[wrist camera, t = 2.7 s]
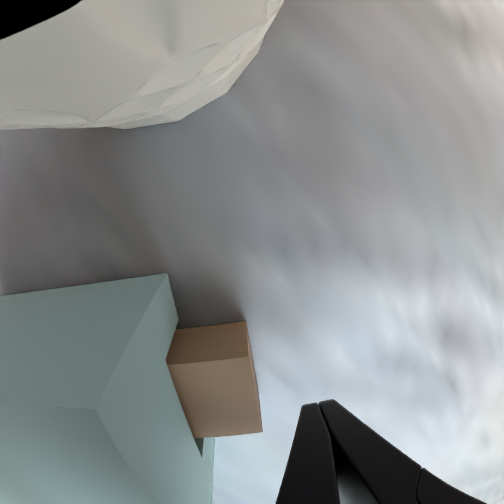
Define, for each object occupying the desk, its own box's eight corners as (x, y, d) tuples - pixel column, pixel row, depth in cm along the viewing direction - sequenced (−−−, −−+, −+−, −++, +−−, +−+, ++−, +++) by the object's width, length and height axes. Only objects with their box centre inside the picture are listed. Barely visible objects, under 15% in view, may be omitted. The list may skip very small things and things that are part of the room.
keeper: (214, 438, 11) (209, 566, 6) (66, 435, 11) (22, 529, 6) (167, 272, 9) (94, 408, 4) (-2, 295, 9) (-102, 375, 4)
